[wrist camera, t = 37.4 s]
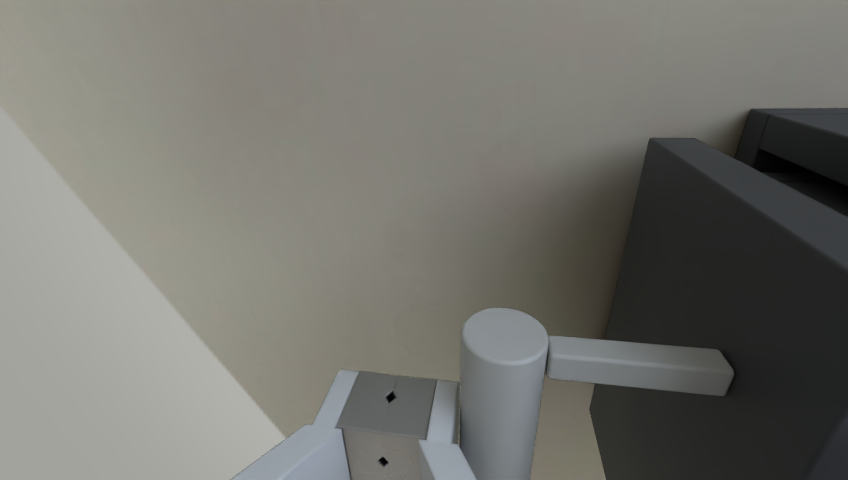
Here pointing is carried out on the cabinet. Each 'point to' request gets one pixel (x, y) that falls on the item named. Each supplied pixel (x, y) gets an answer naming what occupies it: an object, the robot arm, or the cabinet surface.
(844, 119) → the cabinet
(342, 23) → the cabinet surface
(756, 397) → the drawer
